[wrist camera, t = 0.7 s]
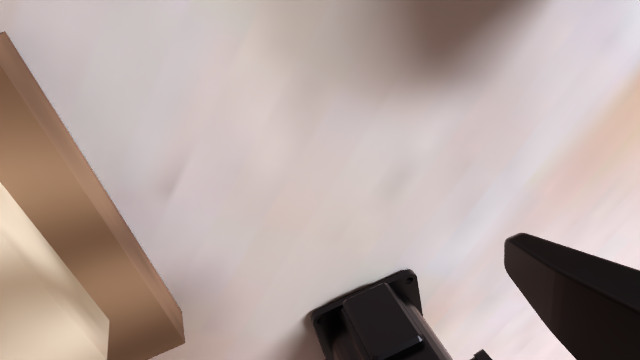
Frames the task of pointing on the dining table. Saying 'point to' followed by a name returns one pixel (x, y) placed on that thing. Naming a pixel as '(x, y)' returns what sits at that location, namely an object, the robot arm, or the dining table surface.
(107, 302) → the serving board
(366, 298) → the robot arm
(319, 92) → the dining table surface
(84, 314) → the coaster
